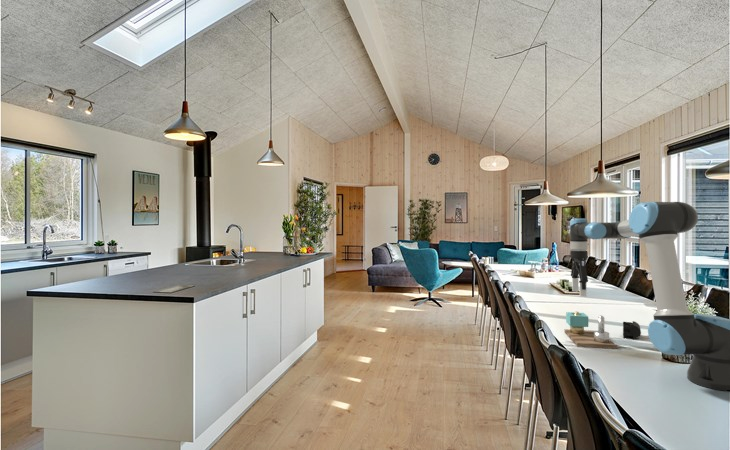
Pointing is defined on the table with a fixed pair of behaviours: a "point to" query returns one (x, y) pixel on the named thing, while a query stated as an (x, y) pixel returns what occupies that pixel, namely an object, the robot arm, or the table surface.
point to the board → (588, 340)
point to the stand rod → (601, 332)
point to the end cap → (631, 330)
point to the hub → (576, 329)
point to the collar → (577, 319)
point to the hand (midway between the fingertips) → (579, 293)
